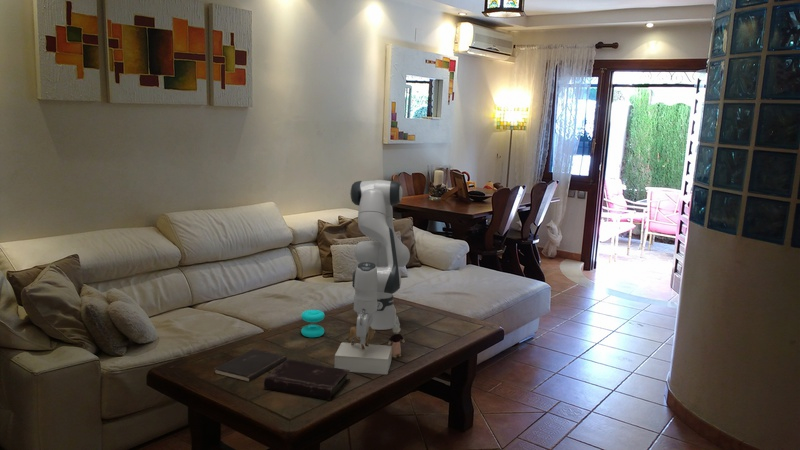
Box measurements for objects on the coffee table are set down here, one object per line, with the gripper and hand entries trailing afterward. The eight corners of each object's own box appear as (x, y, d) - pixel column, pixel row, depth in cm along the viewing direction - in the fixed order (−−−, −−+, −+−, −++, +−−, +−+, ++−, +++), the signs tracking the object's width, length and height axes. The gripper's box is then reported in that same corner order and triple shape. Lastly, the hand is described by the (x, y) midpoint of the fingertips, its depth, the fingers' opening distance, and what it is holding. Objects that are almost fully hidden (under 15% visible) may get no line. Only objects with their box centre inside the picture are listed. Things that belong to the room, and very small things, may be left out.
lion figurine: (378, 346, 239) (377, 325, 236) (370, 352, 235) (368, 330, 232) (350, 338, 247) (348, 317, 245) (341, 343, 243) (338, 322, 241)
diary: (330, 403, 209) (330, 389, 208) (263, 391, 216) (263, 377, 215) (350, 380, 227) (351, 367, 226) (288, 370, 234) (288, 357, 233)
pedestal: (341, 356, 248) (341, 342, 247) (391, 360, 246) (392, 345, 245) (334, 370, 234) (334, 355, 233) (387, 374, 232) (387, 359, 231)
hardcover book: (214, 374, 228) (213, 368, 227) (253, 354, 248) (253, 348, 248) (249, 383, 221) (249, 377, 221) (287, 361, 242) (287, 356, 241)
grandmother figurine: (398, 352, 255) (399, 322, 252) (405, 355, 252) (406, 325, 250) (385, 356, 249) (386, 326, 247) (391, 359, 247) (392, 329, 244)
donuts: (300, 315, 265) (302, 308, 275) (299, 338, 267) (302, 330, 276) (323, 316, 265) (325, 309, 275) (323, 338, 267) (325, 330, 277)
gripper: (369, 314, 225) (368, 351, 228) (377, 298, 245) (376, 332, 248) (352, 313, 226) (351, 349, 228) (361, 297, 246) (360, 331, 248)
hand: (364, 340), depth 238 cm, fingers closed on lion figurine, 6 cm apart
